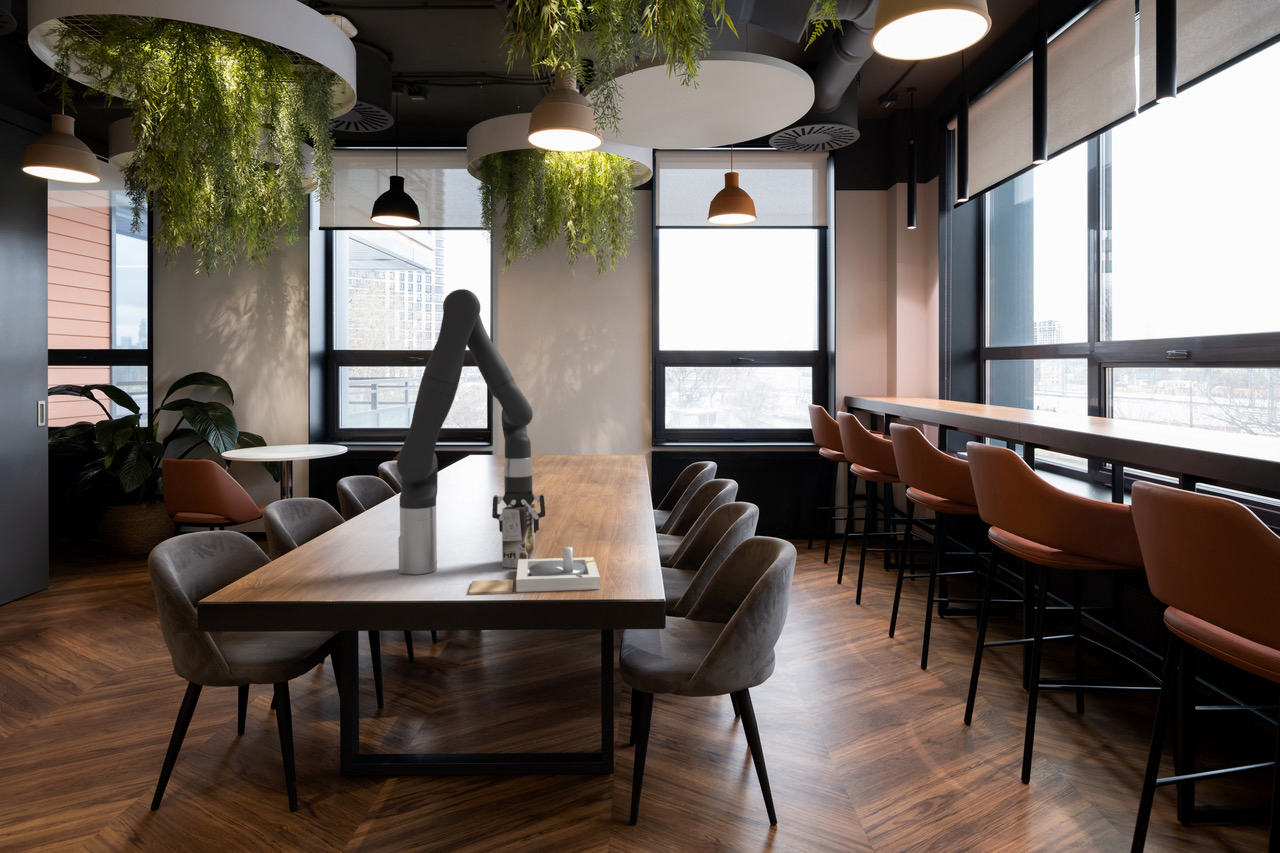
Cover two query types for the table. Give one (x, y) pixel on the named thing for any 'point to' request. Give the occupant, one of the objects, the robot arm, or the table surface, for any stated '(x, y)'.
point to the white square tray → (557, 577)
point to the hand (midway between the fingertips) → (519, 533)
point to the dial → (558, 566)
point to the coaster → (491, 587)
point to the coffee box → (517, 536)
